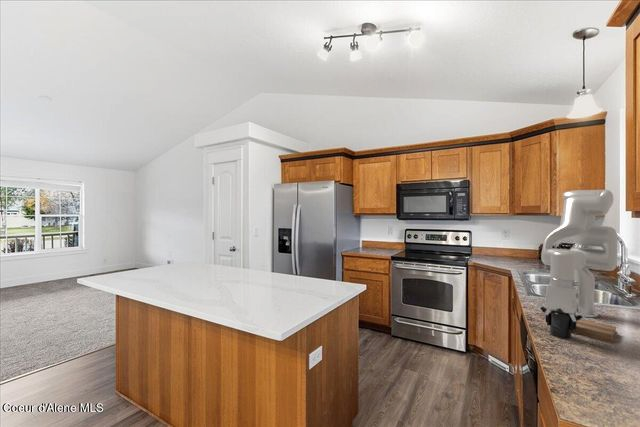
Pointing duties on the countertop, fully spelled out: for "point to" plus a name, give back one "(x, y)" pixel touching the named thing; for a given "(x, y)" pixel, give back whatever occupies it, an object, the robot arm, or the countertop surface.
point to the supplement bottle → (560, 324)
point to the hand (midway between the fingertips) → (560, 327)
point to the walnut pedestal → (595, 330)
